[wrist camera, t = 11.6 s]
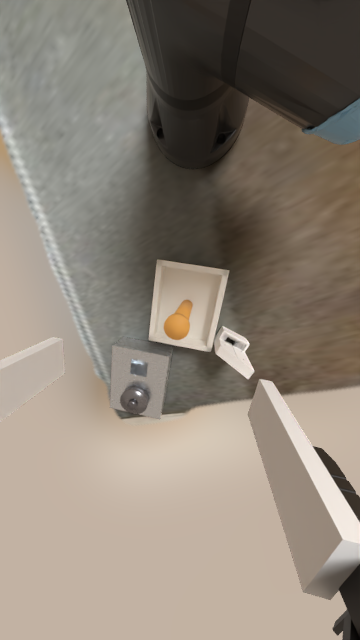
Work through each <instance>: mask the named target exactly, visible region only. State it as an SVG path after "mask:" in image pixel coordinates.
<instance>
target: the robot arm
mask: <svg viewBox="0 0 360 640" xmlns="http://www.w3.org/2000/svg"><path fill="white" fill-rule="evenodd" d="M126 1H127V5H128V8H129V11H130V15H131V18H132V22H133V25H134V28H135V32H136V35H137V39H138V42H139V45H140V49H141V52H142V56H143V59H144V62H145V66H146V72H147V112H148V118H149V123H150V126H151V129H152V132H153V135H154V138H155V140H156V143H157V145H158V146H159V148H160V150H161V151H162V153H163V154H164V155H165V156H166V157H167V158H168V159H169V160H170V161H172V162H173V163H175V164H176V165H178V166H181V167H184V168H191V169H196V168H202V167H205V166H208V165H210V164H212V163H214V162H216V161H217V160H219V159H220V158H221V157H222V156H223V155H224V154H225V153H226V152H227V151H228V150H229V149H230V148H231V146H232V145H233V143H234V142H235V140H236V138H237V137H238V135H239V132H240V130H241V128H242V125H243V121H244V118H245V114H246V110H247V106H248V101H249V97H250V98H251V99H253V100H255V101H256V102H258V103H260V104H261V105H263V106H265V107H266V108H268V109H270V110H272V111H273V112H275V113H277V114H278V115H280V116H282V117H283V118H285V119H287V120H288V121H290V122H292V123H293V124H295V125H297V126H298V127H300V128H302V132H303V133H305V134H315V135H317V136H319V137H321V138H324V139H326V140H328V141H330V142H332V143H334V144H340V145H342V144H348V143H351V142H354V141H357V140H359V139H360V0H126ZM64 374H65V364H64V347H63V339H61V338H55V337H52V338H49V339H47V340H45V341H43V342H40V343H38V344H36V345H33V346H31V347H29V348H27V349H24V350H22V351H20V352H18V353H15V354H13V355H11V356H8V357H6V358H4V359H2V360H0V422H1V421H2V420H4V419H5V418H6V417H8V416H9V415H10V414H12V413H13V412H14V411H16V410H17V409H18V408H20V407H21V406H22V405H24V404H25V403H26V402H28V401H29V400H30V399H32V398H33V397H34V396H36V395H37V394H38V393H40V392H41V391H42V390H44V389H45V388H46V387H48V386H49V385H50V384H52V383H53V382H54V381H56V380H57V379H58V378H60V377H61V376H62V375H64ZM248 416H249V419H250V422H251V426H252V429H253V432H254V435H255V439H256V442H257V445H258V448H259V452H260V455H261V458H262V461H263V464H264V468H265V471H266V474H267V477H268V481H269V484H270V487H271V490H272V493H273V496H274V500H275V503H276V506H277V509H278V513H279V516H280V519H281V522H282V526H283V529H284V532H285V535H286V538H287V541H288V545H289V548H290V551H291V554H292V558H293V561H294V564H295V567H296V571H297V574H298V577H299V580H300V583H301V587H302V590H303V592H305V593H308V594H312V595H315V596H319V597H322V598H325V599H328V600H331V599H332V597H333V596H334V595H335V594H336V593H337V592H338V591H340V593H341V595H342V598H343V600H344V602H345V605H346V607H347V610H346V611H345V612H344V614H343V615H341V617H340V618H339V619H338V620H337V621H336V622H335V625H334V627H333V631H334V632H335V633H336V634H337V635H339V634H340V633H341V632H342V631H343V640H360V497H359V496H358V495H356V492H355V490H354V489H353V487H352V486H351V484H350V483H349V481H347V480H346V477H345V475H344V474H343V472H342V471H341V470H340V468H339V467H338V465H337V464H336V462H335V461H334V460H333V459H332V458H331V457H330V456H329V455H328V454H327V453H326V452H325V451H324V450H323V449H322V448H318V447H314V446H312V445H311V443H310V441H309V440H308V438H307V437H306V435H305V434H304V432H303V430H302V429H301V427H300V425H299V424H298V422H297V421H296V419H295V417H294V416H293V414H292V412H291V411H290V409H289V408H288V406H287V404H286V403H285V401H284V400H283V398H282V396H281V395H280V393H279V392H278V390H277V388H276V387H275V385H274V384H273V382H272V381H267V380H262V379H259V382H258V385H257V388H256V391H255V394H254V397H253V400H252V403H251V406H250V409H249V412H248Z"/></svg>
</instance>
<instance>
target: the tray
mask: <svg viewBox="0 0 360 640" xmlns="http://www.w3.org/2000/svg"><path fill="white" fill-rule="evenodd" d="M228 275H229V270H223V269H217V268H211V267H204V266H198V265H191V264H185V263H179V262H172V261H166V260H159V259H157V264H156V274H155V283H154V293H153V302H152V312H151V321H150V330H149V340H150V341H155V342H161V343H166V344H171V345H176V346H181V347H186V348H191V349H196V350H202V351H207V352H211V350H212V345H213V341H214V337H215V332H216V328H217V323H218V319H219V315H220V310H221V306H222V301H223V297H224V292H225V288H226V284H227V279H228ZM184 300H190V301H191V302H192V304H193V307H192V310H191V314H190V317H189V323H190V329H189V333H188V334H187V336H186V337H185V338H183V339H180V340H174V339H171V338H169V337H168V336H167V335H166V333H165V331H164V323H165V321H166V319H167V318H168V317H169V316H170V315H172V314H174V313H175V312H176V310H177V309H178V307H179V306H180V304H181V303H182V302H183V301H184Z"/></svg>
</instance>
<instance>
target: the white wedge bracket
mask: <svg viewBox="0 0 360 640" xmlns="http://www.w3.org/2000/svg"><path fill="white" fill-rule="evenodd" d="M227 337H228V338H230V339H232V340H234V343H233V344H232V343H230V342H228V341H226V339H227ZM249 345H250V344H249V342H248V341H247V339H246V338H244V337H243V336H241V335H239V334H237V333H235V332H233V331H231V330H229V329H228V328H226V327H224V326H222V327H221V329H220V330H219V332H218V333H217V335H216V336H215V338H214V346H215V352H216V354H217V355H218V356H219V357H221V358H222V359H223V360H224V361H226V362H227V363H228V364H229V365H231V366H232V367H233V368H234V369H236V370H237V371H238V372H239V373H241V374H242V375H243V376H244V377H246V378H247V379H249V378H250V377H251V375H252V374H253V373H254V369H253V367H252V365H251V363H250V361H249V359H248V357H247V355H246V353H245V351H246V349H247V348H248V346H249Z"/></svg>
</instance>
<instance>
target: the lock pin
mask: <svg viewBox="0 0 360 640" xmlns="http://www.w3.org/2000/svg"><path fill="white" fill-rule="evenodd" d="M192 307H193V304H192V302H191V301H190V300H184V301H183V302H182V303H181V304H180V306H179V307H178V309H177V310H176V312H175V313H174V314H172V315H170V316H169V317H168V318H167V319H166V321H165V323H164V331H165V333H166V335H167V336H168V337H169V338H171V339H174V340H180V339H183V338H185V337H186V336H187V334H188V333H189V329H190V323H189V317H190V314H191V310H192Z"/></svg>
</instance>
